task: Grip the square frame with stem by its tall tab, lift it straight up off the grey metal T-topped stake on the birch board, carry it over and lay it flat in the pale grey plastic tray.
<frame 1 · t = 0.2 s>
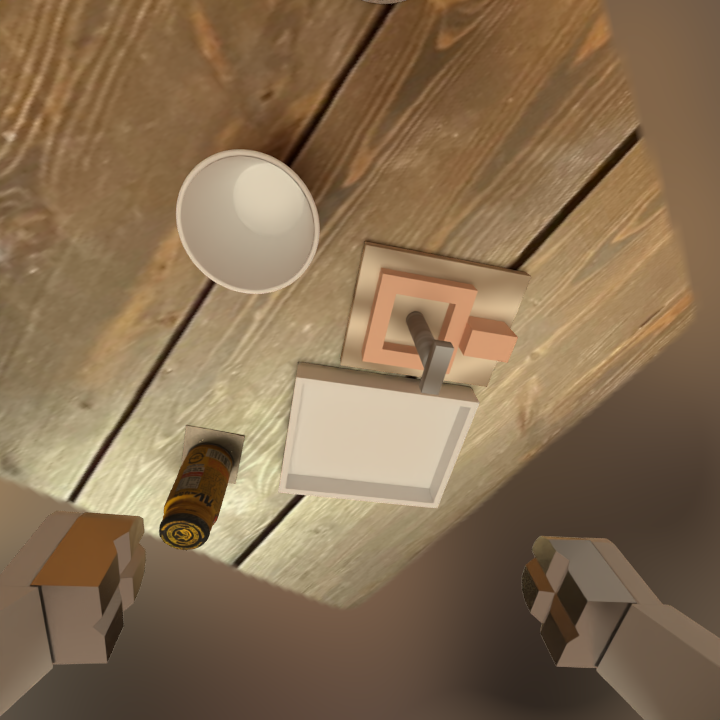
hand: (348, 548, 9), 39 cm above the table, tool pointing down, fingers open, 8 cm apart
condiment: (212, 453, 57), on the table
tray: (371, 431, 56), on the table
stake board: (429, 317, 49), on the table
coffee cup: (269, 201, 42), on the table
square frame with stem: (414, 319, 47), point 1 cm above the table, touching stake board
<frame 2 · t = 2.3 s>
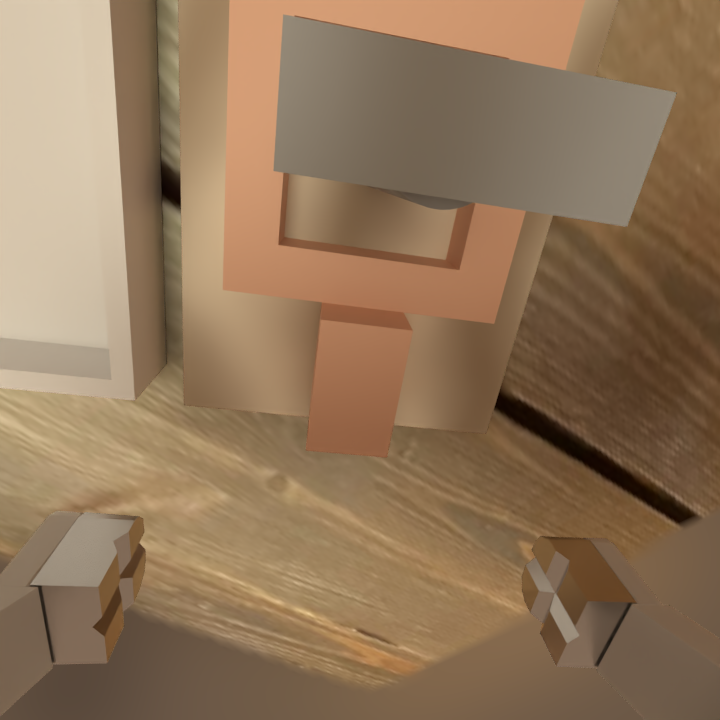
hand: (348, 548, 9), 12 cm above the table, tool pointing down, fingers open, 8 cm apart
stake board: (368, 213, 18), on the table
square frame with stem: (380, 159, 16), point 1 cm above the table, touching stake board
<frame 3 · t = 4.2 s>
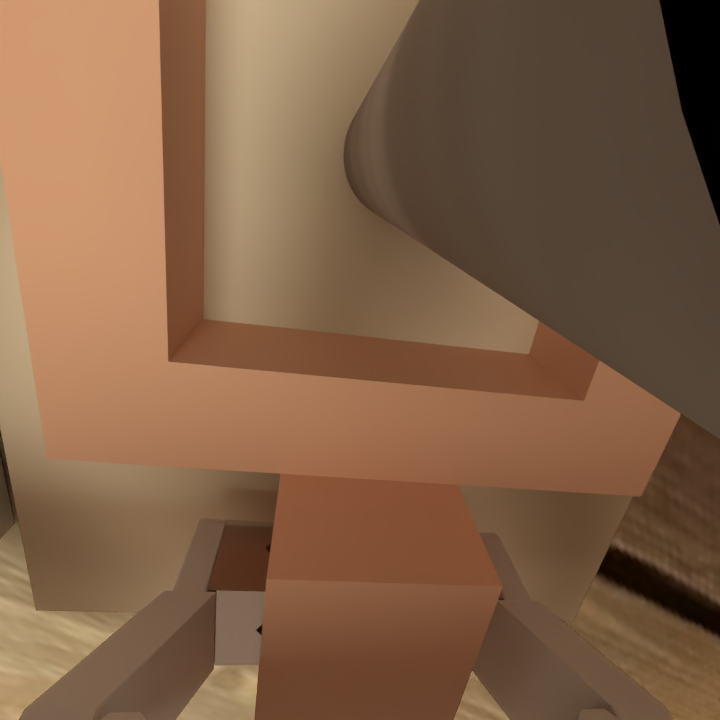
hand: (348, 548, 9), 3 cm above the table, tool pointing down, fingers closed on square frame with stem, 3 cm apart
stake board: (374, 261, 9), on the table
square frame with stem: (404, 156, 7), point 2 cm above the table, touching gripper, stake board
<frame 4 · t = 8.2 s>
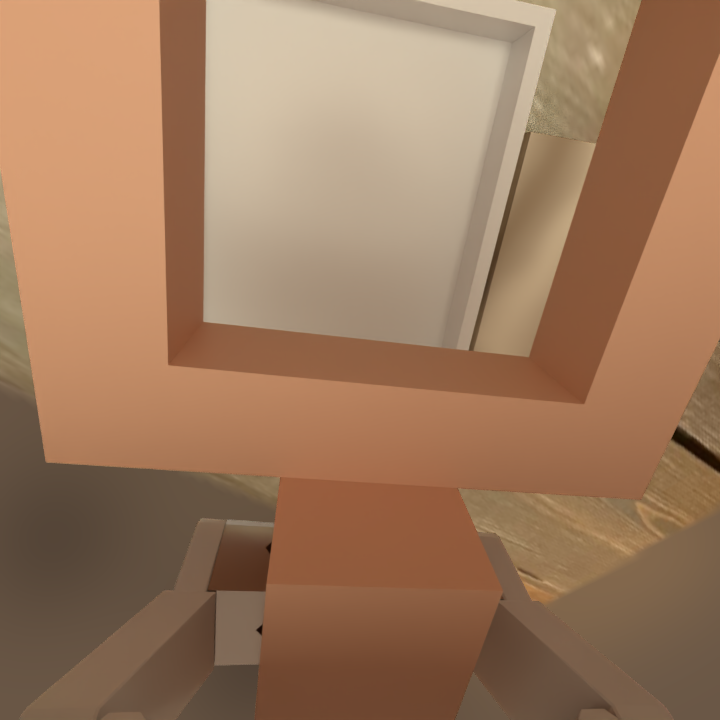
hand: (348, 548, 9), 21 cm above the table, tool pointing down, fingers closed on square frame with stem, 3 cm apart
tray: (338, 215, 26), on the table
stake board: (577, 296, 30), on the table
square frame with stem: (404, 160, 7), point 20 cm above the table, touching gripper
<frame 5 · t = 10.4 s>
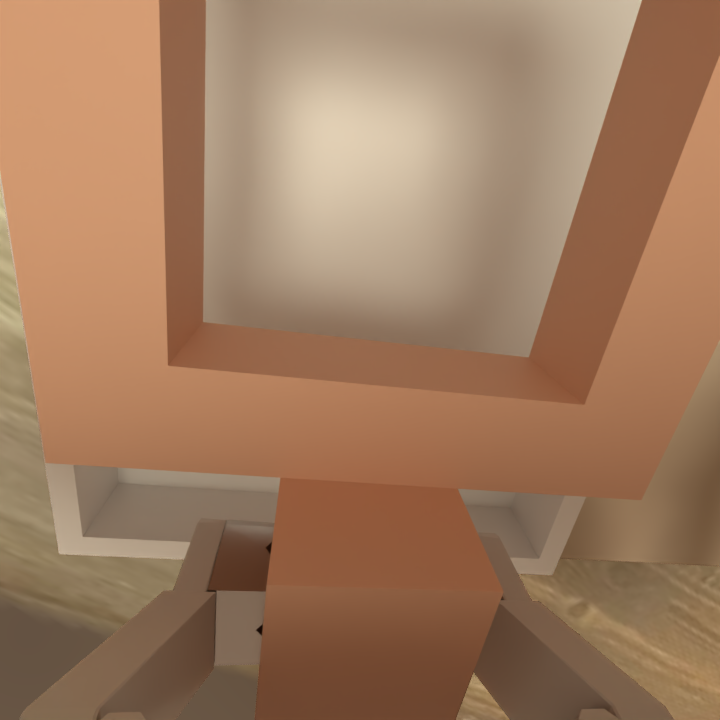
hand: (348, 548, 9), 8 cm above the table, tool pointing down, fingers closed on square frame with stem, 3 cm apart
tray: (359, 244, 15), on the table
square frame with stem: (404, 160, 7), point 7 cm above the table, touching gripper
when the fingers open (4 cm above the table, at t = 12.1 s): square frame with stem drops 2 cm, resting on tray.
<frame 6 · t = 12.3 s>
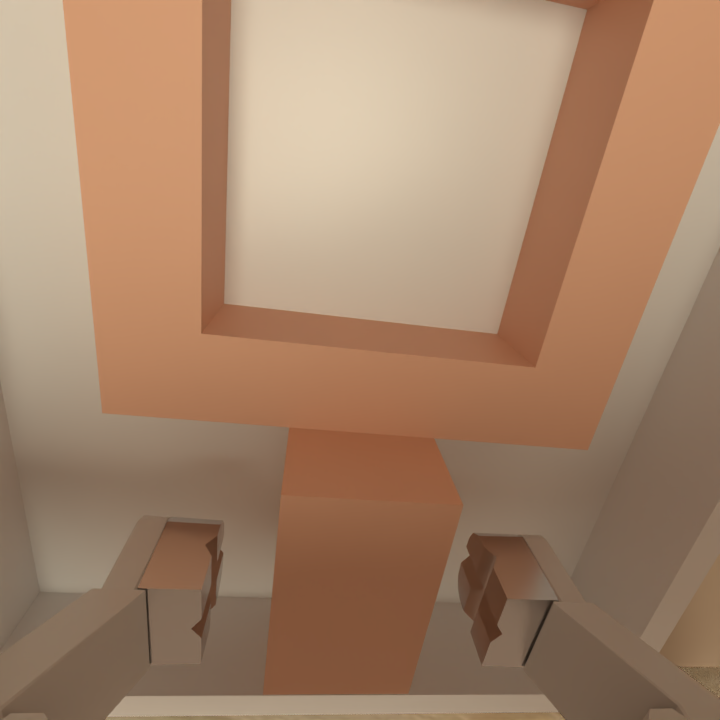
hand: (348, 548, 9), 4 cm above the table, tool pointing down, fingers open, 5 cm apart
tray: (365, 274, 10), on the table
square frame with stem: (389, 169, 9), point 1 cm above the table, touching tray
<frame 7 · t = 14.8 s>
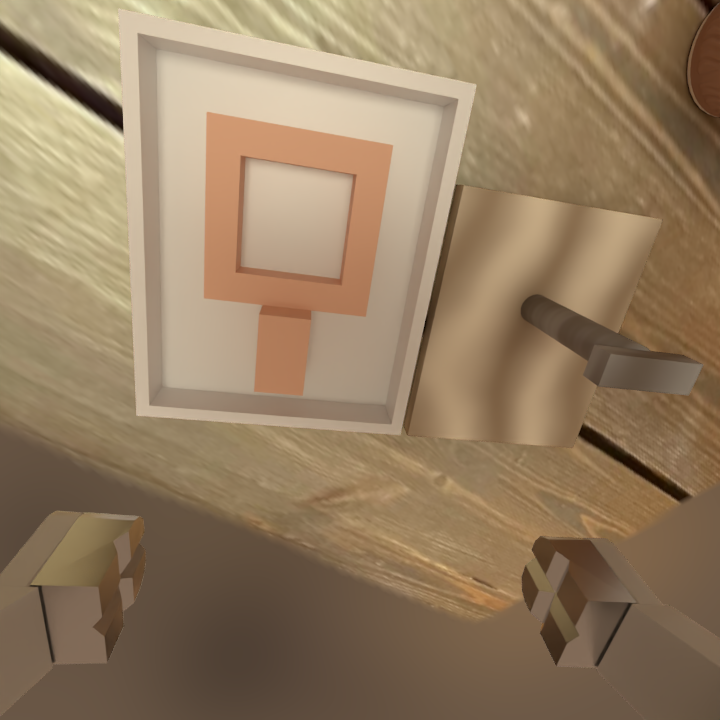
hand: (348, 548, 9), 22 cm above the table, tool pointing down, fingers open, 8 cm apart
tray: (291, 257, 28), on the table
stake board: (516, 328, 32), on the table
square frame with stem: (295, 221, 27), point 1 cm above the table, touching tray
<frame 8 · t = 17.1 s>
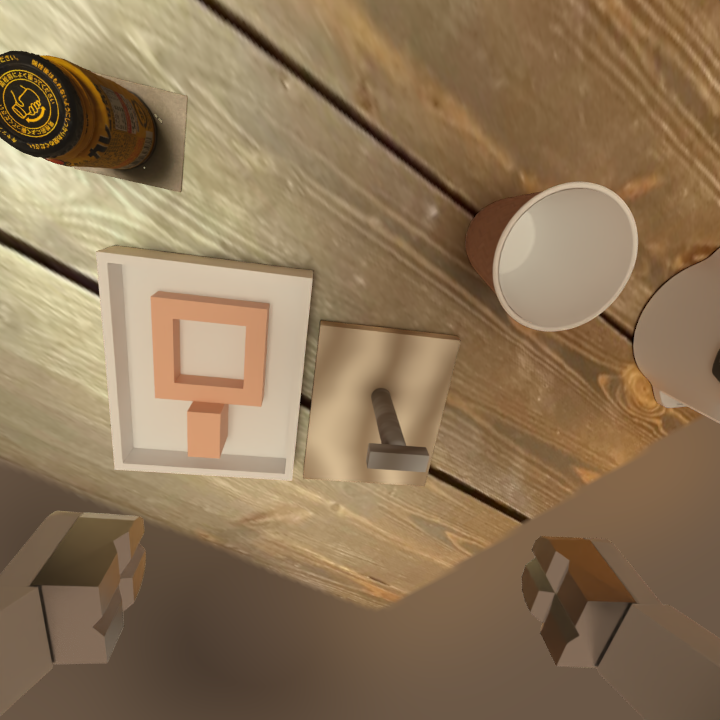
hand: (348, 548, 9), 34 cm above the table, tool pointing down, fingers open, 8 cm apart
condiment: (131, 133, 35), on the table
tray: (215, 365, 43), on the table
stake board: (375, 406, 47), on the table
coffee cup: (499, 238, 41), on the table
square frame with stem: (214, 347, 42), point 1 cm above the table, touching tray
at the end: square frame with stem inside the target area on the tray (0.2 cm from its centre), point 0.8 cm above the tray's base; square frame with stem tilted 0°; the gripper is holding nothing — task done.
